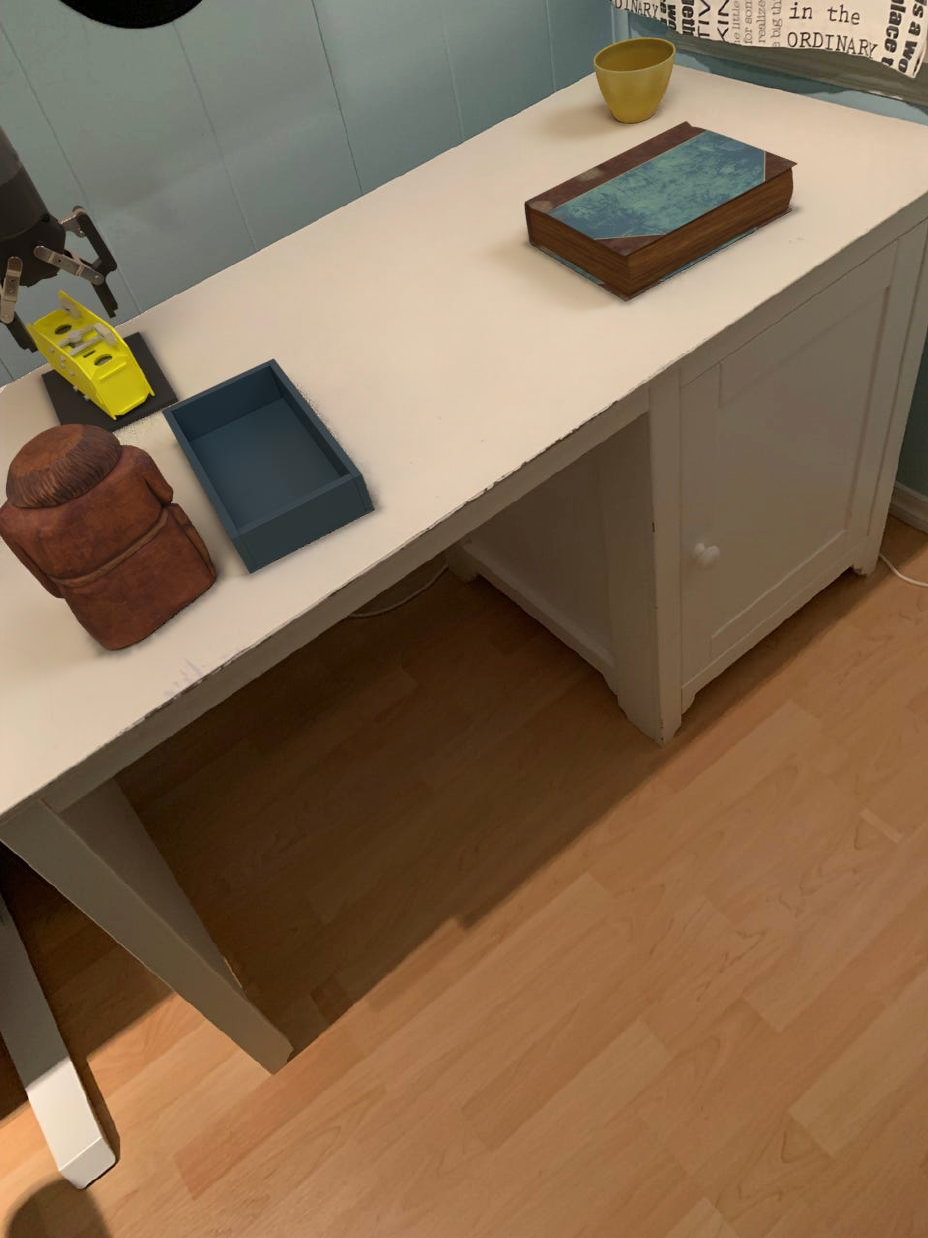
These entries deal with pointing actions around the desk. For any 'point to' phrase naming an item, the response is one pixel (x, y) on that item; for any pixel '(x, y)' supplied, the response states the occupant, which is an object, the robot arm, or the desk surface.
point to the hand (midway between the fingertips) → (73, 331)
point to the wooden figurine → (103, 532)
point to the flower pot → (634, 76)
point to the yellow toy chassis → (91, 357)
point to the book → (659, 207)
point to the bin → (267, 464)
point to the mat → (81, 411)
